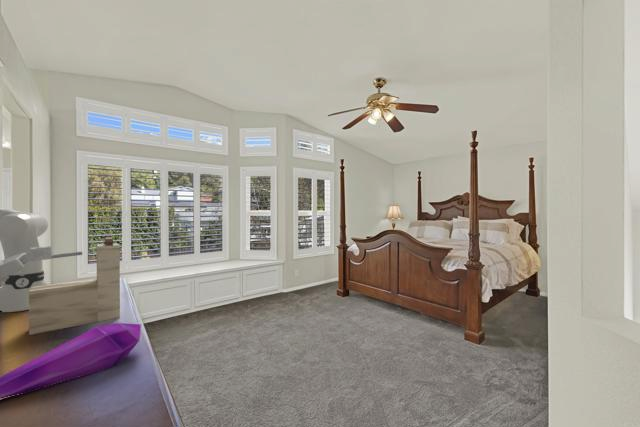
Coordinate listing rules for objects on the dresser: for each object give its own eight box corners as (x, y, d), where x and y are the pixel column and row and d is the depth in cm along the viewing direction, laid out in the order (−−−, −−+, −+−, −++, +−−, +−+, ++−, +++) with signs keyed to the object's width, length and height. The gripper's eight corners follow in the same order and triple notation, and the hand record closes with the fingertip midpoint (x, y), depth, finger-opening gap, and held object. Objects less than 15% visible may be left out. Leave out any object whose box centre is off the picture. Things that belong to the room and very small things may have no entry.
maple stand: (31, 327, 98) (31, 241, 98) (117, 311, 114) (117, 237, 114) (29, 335, 92) (28, 242, 92) (120, 317, 108) (119, 238, 107)
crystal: (-12, 386, 55) (154, 319, 79) (-16, 362, 65) (134, 308, 88) (-2, 427, 56) (159, 349, 80) (-7, 397, 66) (139, 335, 89)
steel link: (30, 261, 94) (29, 249, 93) (32, 259, 97) (31, 248, 97) (82, 255, 102) (81, 243, 102) (82, 253, 105) (81, 242, 105)
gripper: (-30, 274, 80) (30, 246, 88) (-12, 264, 96) (38, 241, 103) (-13, 291, 82) (45, 262, 90) (2, 279, 98) (50, 255, 105)
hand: (41, 251), depth 97 cm, fingers closed on steel link, 4 cm apart
